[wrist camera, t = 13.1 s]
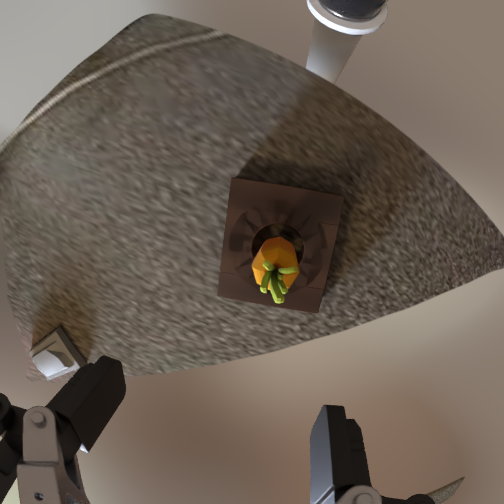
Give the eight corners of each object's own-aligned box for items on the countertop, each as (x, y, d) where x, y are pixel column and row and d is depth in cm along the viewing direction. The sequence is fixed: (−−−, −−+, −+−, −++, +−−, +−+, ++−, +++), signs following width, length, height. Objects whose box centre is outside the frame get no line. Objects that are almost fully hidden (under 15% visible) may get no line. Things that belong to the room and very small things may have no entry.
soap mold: (87, 364, 51) (79, 372, 48) (53, 377, 56) (46, 385, 52) (60, 326, 49) (50, 334, 46) (31, 347, 54) (23, 353, 50)
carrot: (262, 223, 38) (248, 255, 24) (299, 228, 38) (307, 265, 23) (258, 258, 39) (241, 308, 25) (293, 263, 39) (296, 316, 25)
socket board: (235, 176, 37) (231, 177, 34) (339, 194, 36) (344, 196, 33) (221, 287, 41) (217, 296, 38) (315, 303, 40) (317, 313, 37)
